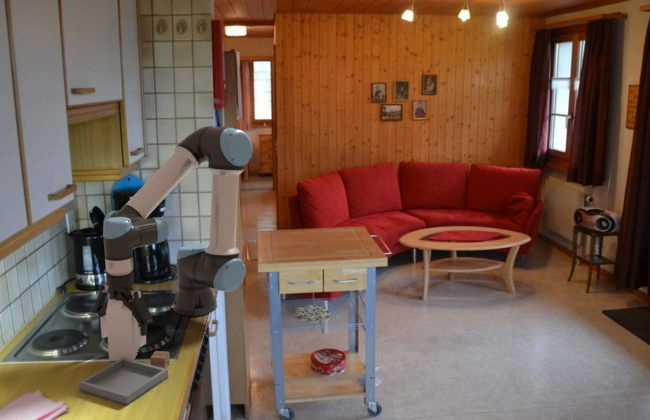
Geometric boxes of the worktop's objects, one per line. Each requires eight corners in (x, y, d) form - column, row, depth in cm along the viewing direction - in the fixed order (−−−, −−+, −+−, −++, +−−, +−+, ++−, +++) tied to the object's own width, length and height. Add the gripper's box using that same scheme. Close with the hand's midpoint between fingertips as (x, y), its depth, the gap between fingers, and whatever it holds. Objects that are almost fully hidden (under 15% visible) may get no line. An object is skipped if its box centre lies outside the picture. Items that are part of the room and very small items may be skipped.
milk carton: (115, 350, 182) (111, 290, 178) (139, 350, 182) (136, 290, 178) (109, 361, 175) (105, 299, 171) (134, 361, 176) (130, 299, 171)
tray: (123, 365, 173) (122, 357, 172) (168, 377, 166) (168, 369, 166) (79, 391, 158) (78, 382, 158) (127, 405, 152) (126, 396, 151)
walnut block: (155, 363, 174) (155, 351, 173) (169, 364, 174) (169, 351, 173) (151, 370, 170) (150, 357, 170) (164, 371, 170) (164, 358, 169)
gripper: (77, 268, 175) (82, 337, 179) (145, 282, 165) (148, 354, 169) (96, 261, 181) (100, 328, 186) (163, 274, 171) (166, 344, 176)
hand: (123, 340), depth 178 cm, fingers open, 13 cm apart
